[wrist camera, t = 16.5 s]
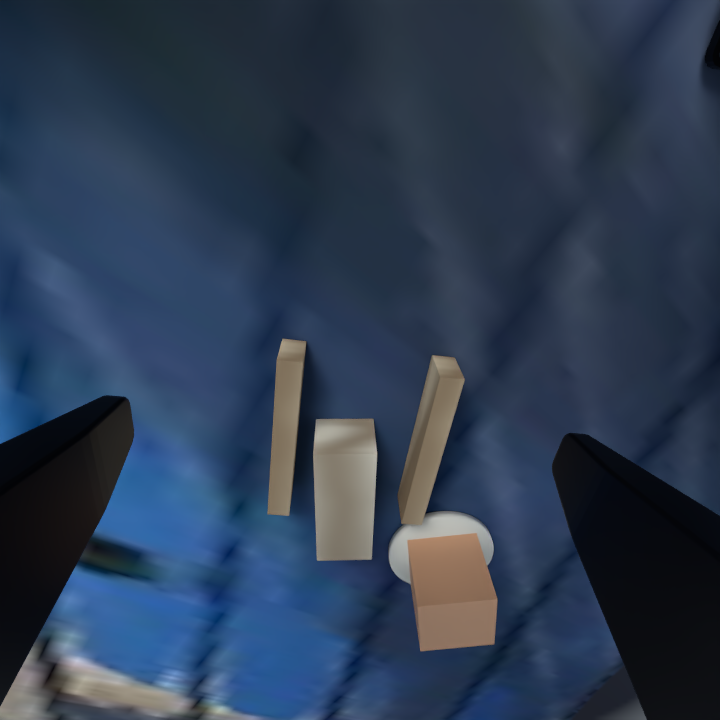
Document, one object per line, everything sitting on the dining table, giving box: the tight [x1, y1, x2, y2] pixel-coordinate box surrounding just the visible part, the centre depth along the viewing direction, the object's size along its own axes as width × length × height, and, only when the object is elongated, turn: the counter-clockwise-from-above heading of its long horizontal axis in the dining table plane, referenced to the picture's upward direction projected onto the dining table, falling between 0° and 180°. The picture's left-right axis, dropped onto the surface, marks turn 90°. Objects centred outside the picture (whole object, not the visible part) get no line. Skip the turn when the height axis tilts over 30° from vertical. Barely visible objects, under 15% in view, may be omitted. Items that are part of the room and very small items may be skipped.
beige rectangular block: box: [313, 419, 377, 561], centre depth 26 cm, size 3×8×3 cm, turn 179°
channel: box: [268, 339, 465, 525], centre depth 24 cm, size 9×10×2 cm
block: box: [407, 533, 498, 651], centre depth 28 cm, size 4×4×4 cm
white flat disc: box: [388, 511, 494, 584], centre depth 30 cm, size 7×7×1 cm
